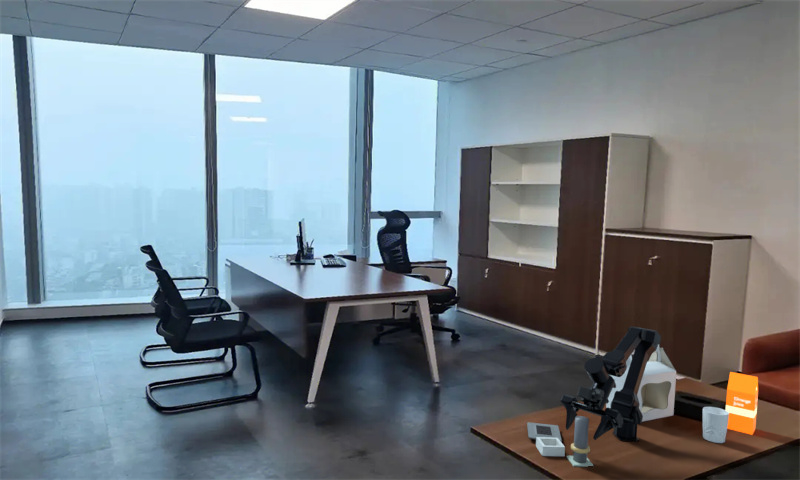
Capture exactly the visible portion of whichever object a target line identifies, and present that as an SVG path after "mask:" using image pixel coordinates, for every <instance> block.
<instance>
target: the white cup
mask: <svg viewBox="0 0 800 480" xmlns="http://www.w3.org/2000/svg"><path fill="white" fill-rule="evenodd" d="M728 419H729V412H728V411H726V409H723V408H720V407H715V406H704V407H702V438H703V439H704V440H707V441H708V442H710V443H715V444H723V443H726V436H727V433H728V429H727V427H728Z"/></svg>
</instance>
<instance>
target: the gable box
mask: <svg viewBox="0 0 800 480" xmlns="http://www.w3.org/2000/svg"><path fill="white" fill-rule="evenodd" d="M634 351H635V350H634ZM634 351H633V353H632V354H631V355H630V357H629V358H628V359H627V361H626V365H627V368H626V371H625V373H624V374H623V375H622V376H621V377H616V376H612V375H610V376H611V377H612V378H613V379H614V380H615V384H616V388H612V391H611V393H610V395H609V397H608V400H609V402H608V404H607V403H606V404H605V409H606V408H611V407H610V406H611V402H612V400H613V398H614V394H615V392H616V391H620V390H621V389H623V386H624V383H625V380H626V376H627V373H628V370H629V367H630V364H631V361H632V358H633V354H634ZM676 379H677V370H676V368H675V366H674V364H673V363H672V361H671V360H670V358H669V356H668V355H667V353H666V352H665V350H664V347H660V344H659V345H658V347H657V349H656V351H655V352H653V353H652V354H651V355H650V356H649V358H648V361H647V364H646V367H645V370H644V374H643V377H642V380H641V383H640V387H639V390H638V393H637V397H638V400H639V403H640V405H639V409H640V411H641V413H642V415H643V418H642V422H646V421H647V422H648V421H652V420H656V419H657V420H658V419H662V418H668V417H672V416H674V413H675V409H674V408H675V400H676V399H675V398H676V397H675V396H676V383H677V380H676ZM642 422H641V423H642Z"/></svg>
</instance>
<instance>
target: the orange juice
mask: <svg viewBox="0 0 800 480" xmlns="http://www.w3.org/2000/svg"><path fill="white" fill-rule="evenodd" d="M758 397H759V377H758V376H755V375H749V374H746V373H745V374H744V373H738V372H733V371H730V372H729V377H728V383H727V387H726V397H725V399H726V401H725V410H726V411H728V412H729V419H728V427H727V430H731V431H735V432H738V433H739V432H740V433H743V434H747V435H751V436H752V435H754V433H755V431H756V425H757V412H758Z"/></svg>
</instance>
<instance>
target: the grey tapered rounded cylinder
mask: <svg viewBox="0 0 800 480" xmlns="http://www.w3.org/2000/svg"><path fill="white" fill-rule="evenodd" d="M589 423H590V419H589V417H587V416H583V415H577V416H576V417H575V420H574V429H573V430H574V432H573V435H574V437H573V442H572V443H571V444H570V450H571V451H572V453H573V454H572V456H573V460H574V461H575V462H578V463H586V462H587V458H588V454H589V453H590V452H591V446H590V445H588V444H589V427H590V424H589Z"/></svg>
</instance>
